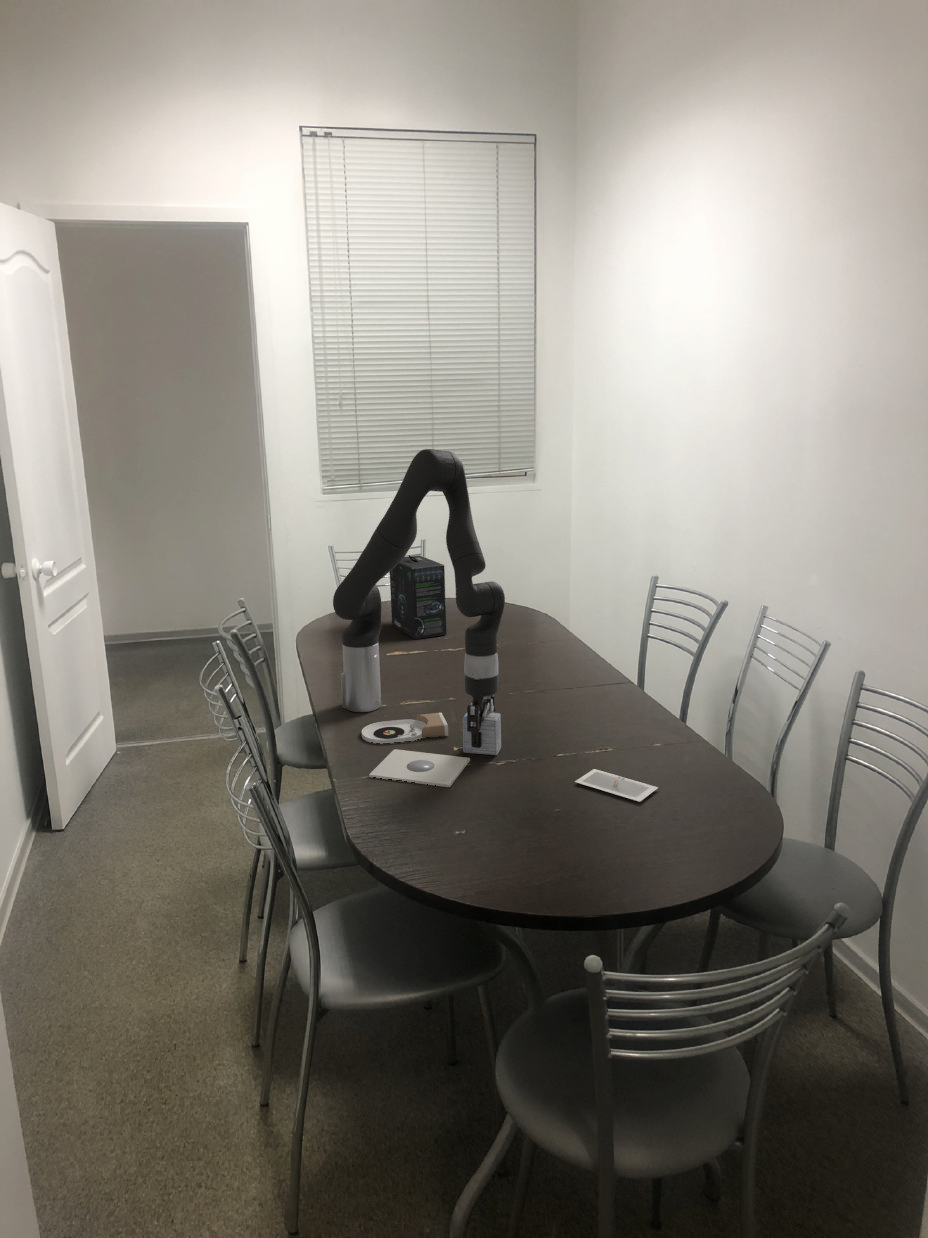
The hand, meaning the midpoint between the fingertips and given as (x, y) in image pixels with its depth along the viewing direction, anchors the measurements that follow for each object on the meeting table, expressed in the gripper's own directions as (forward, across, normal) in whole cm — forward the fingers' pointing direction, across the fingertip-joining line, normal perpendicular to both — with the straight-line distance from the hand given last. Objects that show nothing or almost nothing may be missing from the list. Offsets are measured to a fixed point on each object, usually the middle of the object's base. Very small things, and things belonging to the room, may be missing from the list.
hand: (482, 739), depth 197 cm
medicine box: (+3, 0, 0) cm, 3 cm away
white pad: (+3, +13, -10) cm, 17 cm away
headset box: (+3, -93, -51) cm, 106 cm away
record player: (+3, -5, -21) cm, 22 cm away
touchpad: (+3, +10, +32) cm, 34 cm away
